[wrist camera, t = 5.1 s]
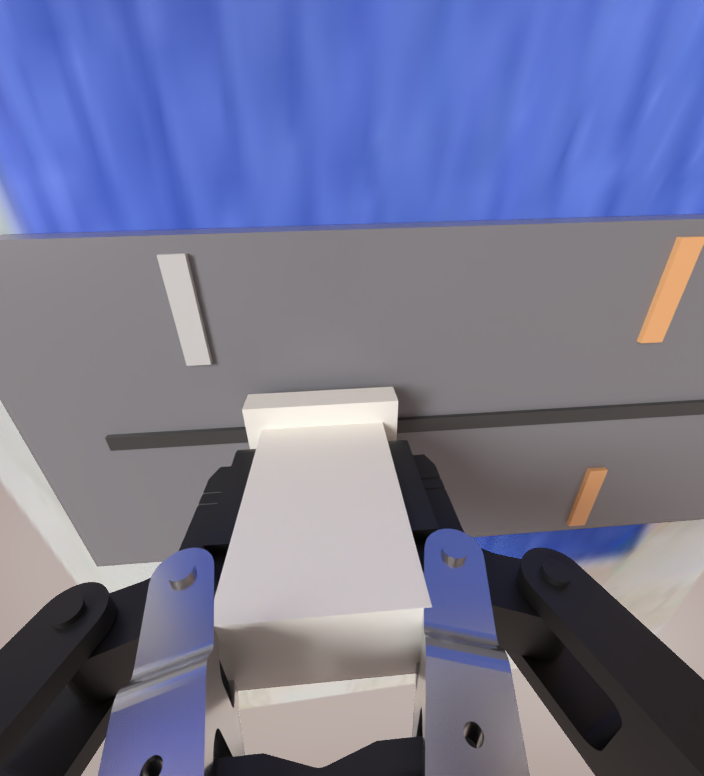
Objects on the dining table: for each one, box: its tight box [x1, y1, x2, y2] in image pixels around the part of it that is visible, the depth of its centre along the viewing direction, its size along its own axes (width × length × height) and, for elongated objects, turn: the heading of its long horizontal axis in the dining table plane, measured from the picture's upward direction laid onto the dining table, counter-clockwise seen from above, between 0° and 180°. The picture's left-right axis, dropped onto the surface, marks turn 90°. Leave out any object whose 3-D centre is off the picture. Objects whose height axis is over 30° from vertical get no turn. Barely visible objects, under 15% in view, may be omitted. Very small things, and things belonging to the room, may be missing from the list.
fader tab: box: [214, 387, 432, 691], centre depth 10 cm, size 4×5×7 cm
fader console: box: [0, 214, 704, 566], centre depth 15 cm, size 14×30×3 cm, turn 91°
